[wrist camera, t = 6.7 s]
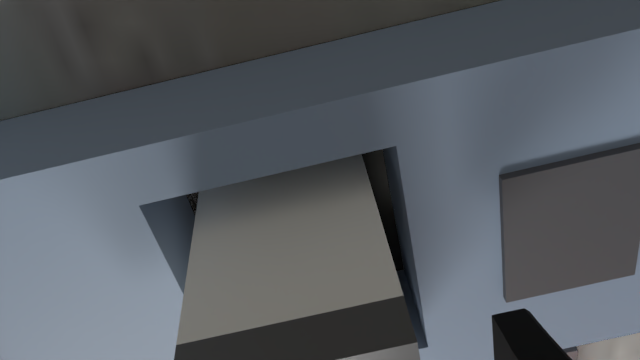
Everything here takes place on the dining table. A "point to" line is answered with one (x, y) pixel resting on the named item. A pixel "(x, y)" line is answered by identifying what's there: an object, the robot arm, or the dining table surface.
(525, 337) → the robot arm
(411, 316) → the power strip
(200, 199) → the plug
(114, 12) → the dining table surface
